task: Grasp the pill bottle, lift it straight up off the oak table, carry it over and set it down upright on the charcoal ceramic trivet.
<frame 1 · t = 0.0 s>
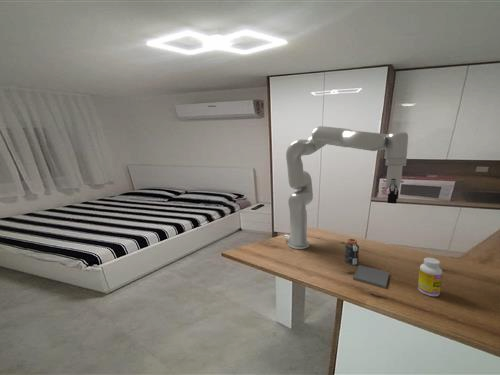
hand: (392, 200, 101), 31 cm above the table, fingers open, 9 cm apart
pill bottle: (351, 262, 111), on the table
trivet: (371, 276, 98), on the table
supplement bottle: (428, 292, 87), on the table
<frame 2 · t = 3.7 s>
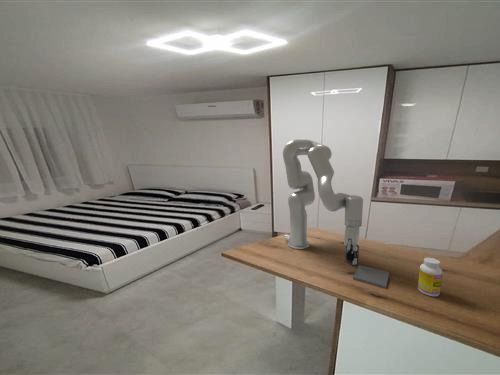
hand: (351, 257, 111), 3 cm above the table, fingers closed on pill bottle, 6 cm apart
pill bottle: (351, 262, 111), on the table, touching gripper
everything else where it was.
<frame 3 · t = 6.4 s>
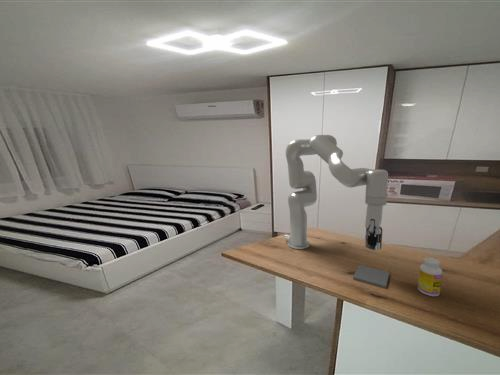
hand: (373, 241, 95), 16 cm above the table, fingers closed on pill bottle, 6 cm apart
pill bottle: (373, 247, 96), point 13 cm above the table, touching gripper
everything else where it was.
when the fingers open (5 cm above the table, at t = 9.1 s): pill bottle drops 1 cm, resting on trivet.
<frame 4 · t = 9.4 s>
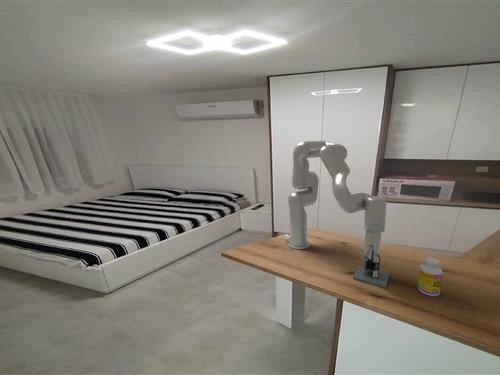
hand: (372, 264, 97), 6 cm above the table, fingers open, 8 cm apart
pill bottle: (371, 274, 98), point 1 cm above the table, touching trivet
everything else where it was.
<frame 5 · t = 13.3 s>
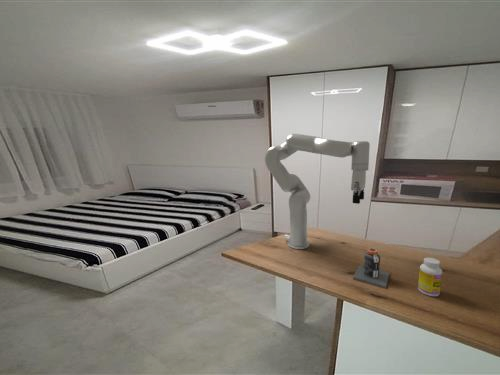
hand: (358, 201, 114), 28 cm above the table, fingers open, 9 cm apart
nothing on the table moved.
at the end: pill bottle inside the target area on the trivet (0.2 cm from its centre), point 0.8 cm above the trivet's base; pill bottle tilted 0°; the gripper is holding nothing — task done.
